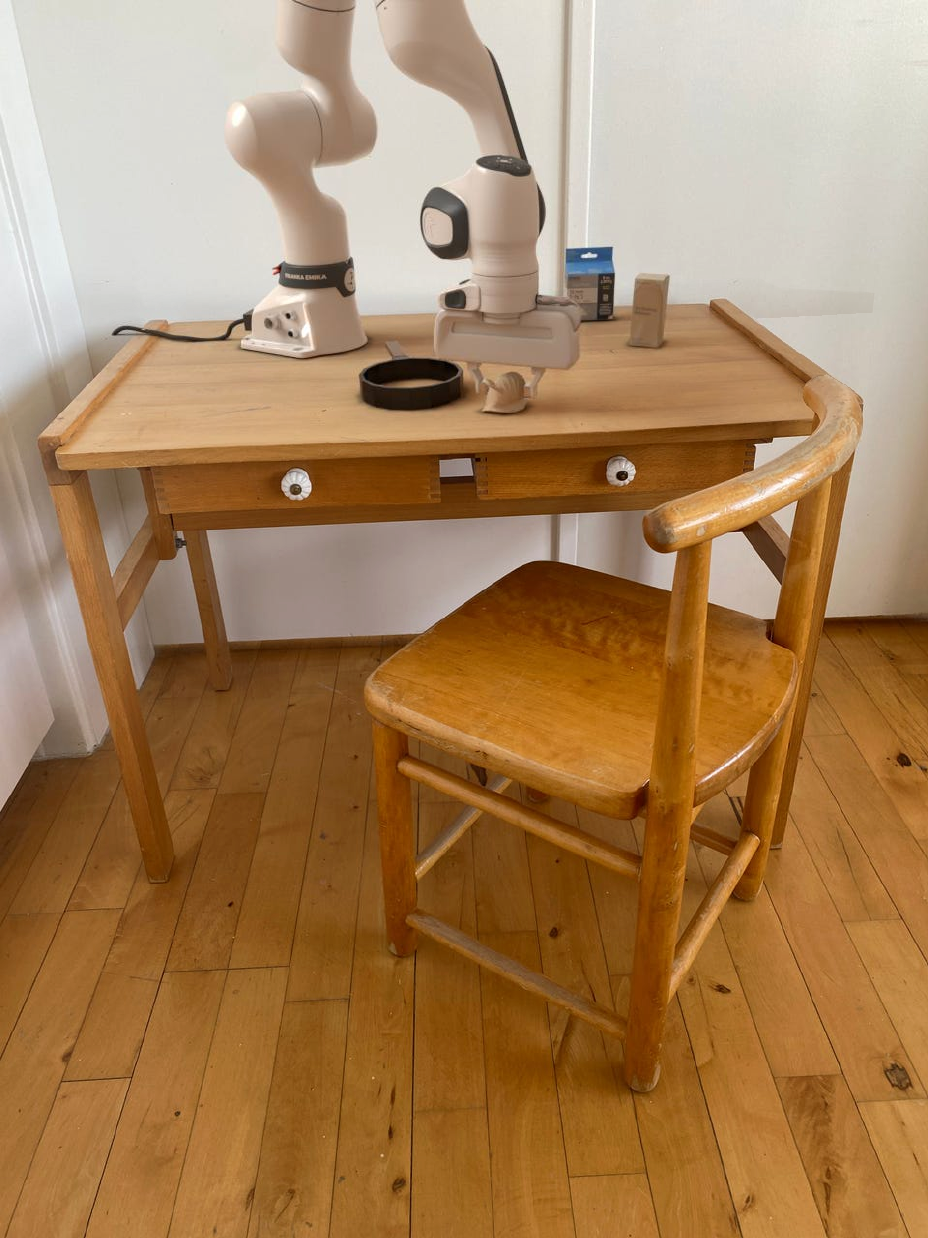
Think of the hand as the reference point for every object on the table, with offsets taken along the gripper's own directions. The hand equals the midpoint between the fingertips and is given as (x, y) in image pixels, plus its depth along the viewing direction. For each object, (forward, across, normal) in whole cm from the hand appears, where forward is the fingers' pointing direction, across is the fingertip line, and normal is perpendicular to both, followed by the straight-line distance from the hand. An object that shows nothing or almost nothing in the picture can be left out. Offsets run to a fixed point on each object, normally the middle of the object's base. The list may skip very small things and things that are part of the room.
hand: (506, 394), depth 130 cm
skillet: (+2, +19, -7) cm, 20 cm away
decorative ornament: (+2, 0, 0) cm, 2 cm away
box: (+2, -12, -38) cm, 40 cm away
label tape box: (+2, +2, -52) cm, 52 cm away
